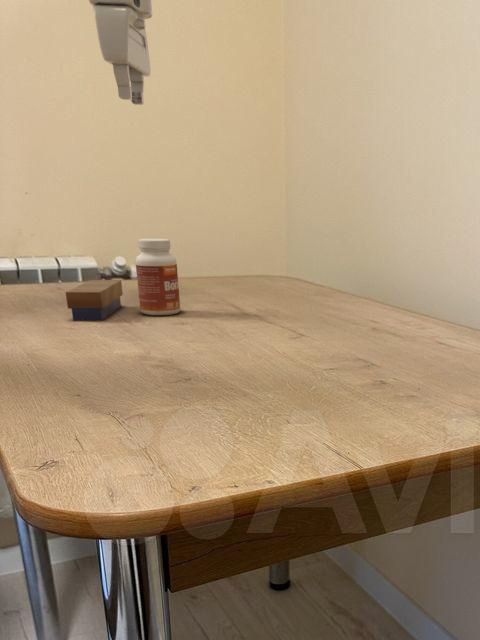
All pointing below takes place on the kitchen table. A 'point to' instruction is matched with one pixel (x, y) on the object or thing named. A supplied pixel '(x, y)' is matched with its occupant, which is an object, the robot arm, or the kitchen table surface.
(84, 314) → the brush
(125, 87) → the robot arm
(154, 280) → the pill bottle
